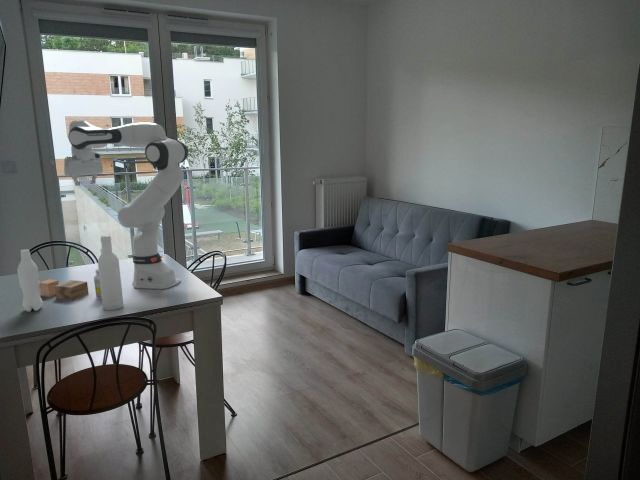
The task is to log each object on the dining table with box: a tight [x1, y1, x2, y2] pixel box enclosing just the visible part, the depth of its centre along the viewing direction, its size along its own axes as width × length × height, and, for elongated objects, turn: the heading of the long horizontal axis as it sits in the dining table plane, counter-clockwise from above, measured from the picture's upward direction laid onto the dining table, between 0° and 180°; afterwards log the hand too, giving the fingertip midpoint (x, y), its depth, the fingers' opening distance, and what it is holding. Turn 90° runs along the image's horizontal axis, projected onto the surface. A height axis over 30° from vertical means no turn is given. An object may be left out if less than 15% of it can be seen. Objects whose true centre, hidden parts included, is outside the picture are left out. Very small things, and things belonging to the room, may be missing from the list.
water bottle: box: [16, 249, 44, 313], centre depth 193 cm, size 7×7×25 cm
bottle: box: [97, 234, 124, 311], centre depth 194 cm, size 8×8×30 cm
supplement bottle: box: [93, 268, 102, 300], centre depth 208 cm, size 7×7×13 cm
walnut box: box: [55, 279, 89, 301], centre depth 211 cm, size 9×9×6 cm
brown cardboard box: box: [39, 278, 60, 298], centre depth 214 cm, size 6×6×6 cm
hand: (85, 184), depth 230 cm, fingers open, 8 cm apart
